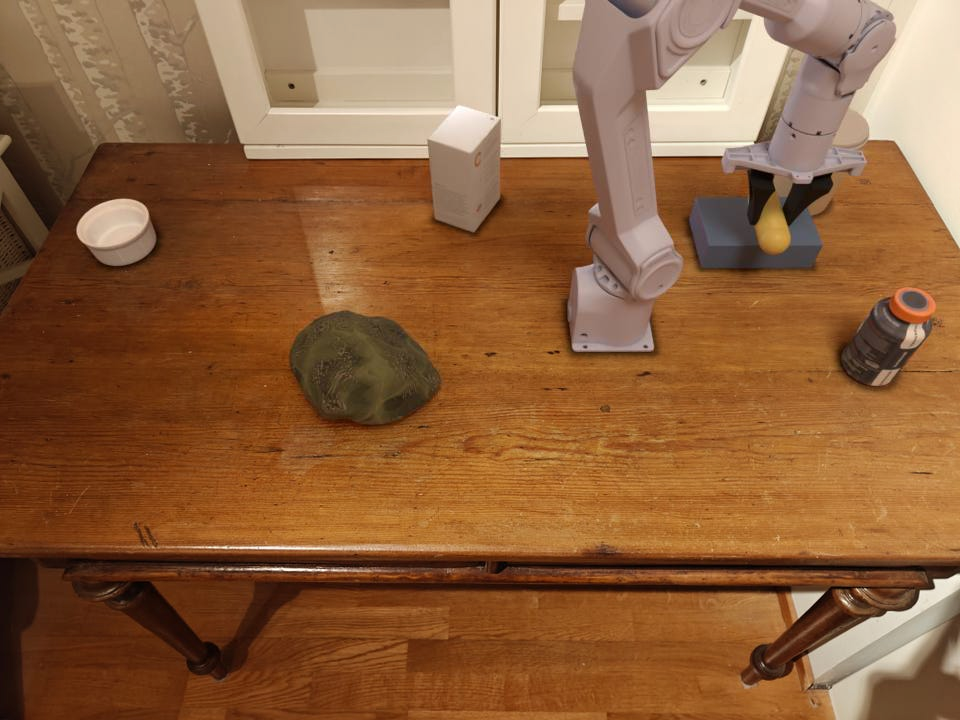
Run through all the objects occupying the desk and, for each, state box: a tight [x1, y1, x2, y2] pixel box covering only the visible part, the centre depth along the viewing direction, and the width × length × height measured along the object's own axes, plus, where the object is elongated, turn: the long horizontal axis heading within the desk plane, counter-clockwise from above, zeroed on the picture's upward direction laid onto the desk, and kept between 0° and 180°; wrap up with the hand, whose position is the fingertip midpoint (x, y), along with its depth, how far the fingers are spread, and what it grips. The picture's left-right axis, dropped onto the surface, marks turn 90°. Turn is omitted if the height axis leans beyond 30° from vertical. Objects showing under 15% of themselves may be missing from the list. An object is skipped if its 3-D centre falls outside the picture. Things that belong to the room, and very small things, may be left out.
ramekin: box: [75, 198, 157, 267], centre depth 91 cm, size 9×9×4 cm
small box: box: [426, 105, 502, 233], centre depth 91 cm, size 8×6×13 cm
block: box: [688, 196, 824, 269], centre depth 90 cm, size 14×9×4 cm, turn 90°
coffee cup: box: [773, 107, 870, 217], centre depth 92 cm, size 9×9×12 cm
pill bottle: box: [840, 286, 937, 387], centre depth 75 cm, size 6×6×11 cm
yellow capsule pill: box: [747, 191, 791, 255], centre depth 82 cm, size 10×3×3 cm, turn 177°
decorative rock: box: [288, 309, 442, 426], centre depth 75 cm, size 15×16×10 cm
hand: (768, 219), depth 82 cm, fingers closed on yellow capsule pill, 3 cm apart
